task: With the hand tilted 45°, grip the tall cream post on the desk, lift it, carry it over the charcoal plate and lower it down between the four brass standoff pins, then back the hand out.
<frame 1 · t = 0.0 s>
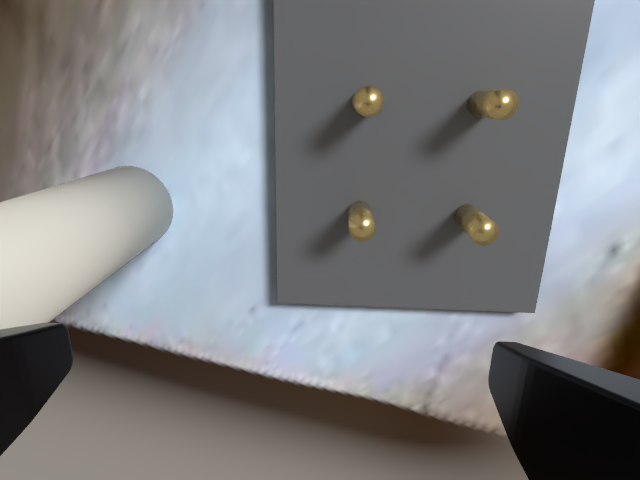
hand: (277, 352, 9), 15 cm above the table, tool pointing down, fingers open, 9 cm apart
charcoal plate: (414, 157, 22), on the table
cream post: (133, 206, 24), on the table
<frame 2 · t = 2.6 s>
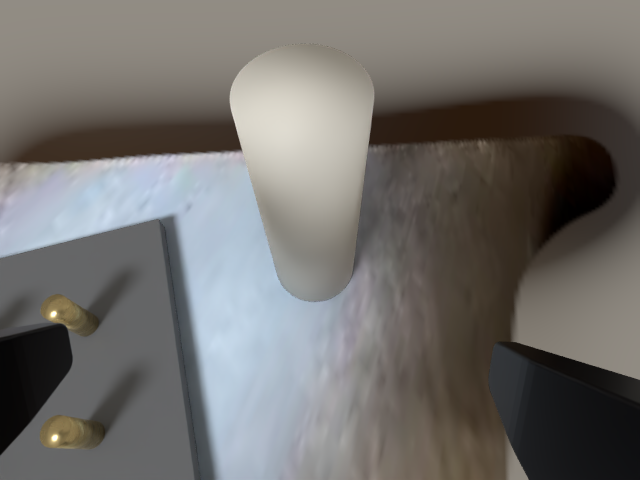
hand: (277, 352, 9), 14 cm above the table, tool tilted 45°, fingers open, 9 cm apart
charcoal plate: (44, 396, 22), on the table
cream post: (314, 265, 25), on the table
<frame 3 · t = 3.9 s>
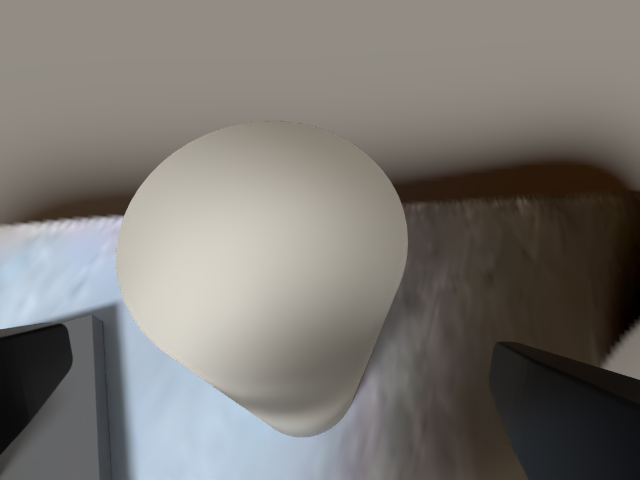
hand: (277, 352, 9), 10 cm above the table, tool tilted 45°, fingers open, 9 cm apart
cream post: (303, 379, 18), on the table
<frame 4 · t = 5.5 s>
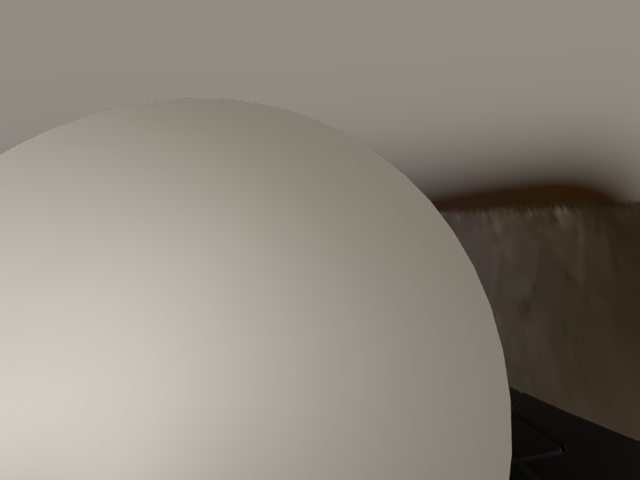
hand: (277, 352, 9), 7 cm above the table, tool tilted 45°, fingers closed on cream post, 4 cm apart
cream post: (293, 440, 14), on the table, touching gripper
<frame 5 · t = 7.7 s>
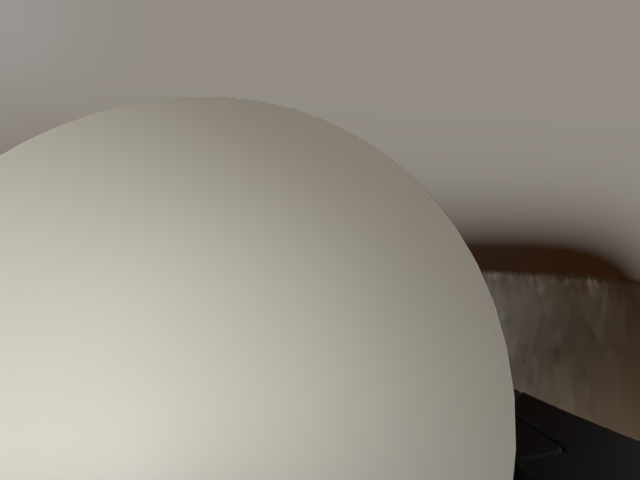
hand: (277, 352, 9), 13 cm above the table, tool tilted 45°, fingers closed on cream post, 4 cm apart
cream post: (294, 439, 14), point 7 cm above the table, touching gripper
when the fingers open (9 cm above the table, at t = 10.1 s): cream post drops 1 cm, resting on charcoal plate.
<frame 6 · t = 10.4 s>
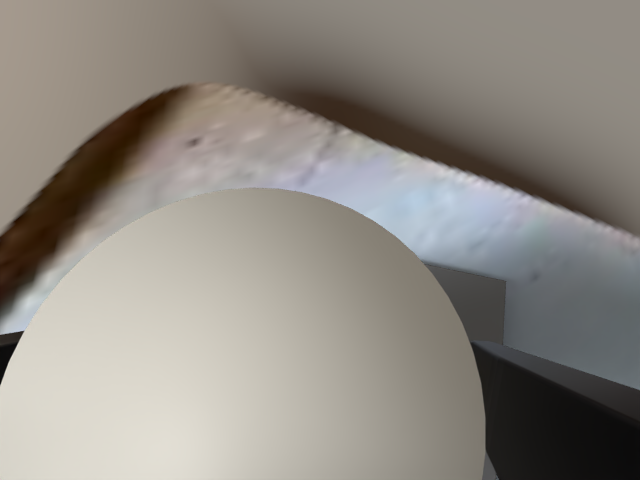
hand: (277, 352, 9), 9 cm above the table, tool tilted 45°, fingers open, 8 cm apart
charcoal plate: (298, 441, 16), on the table
cream post: (296, 443, 15), point 1 cm above the table, touching charcoal plate
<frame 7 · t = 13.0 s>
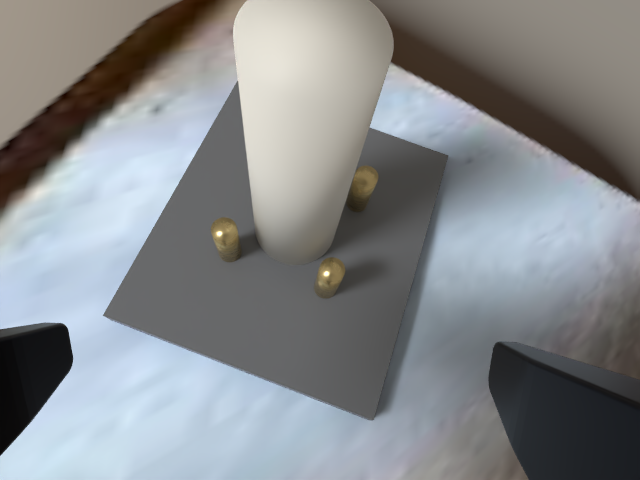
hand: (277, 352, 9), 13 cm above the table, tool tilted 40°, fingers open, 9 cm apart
charcoal plate: (295, 233, 25), on the table
cream post: (295, 227, 24), point 1 cm above the table, touching charcoal plate
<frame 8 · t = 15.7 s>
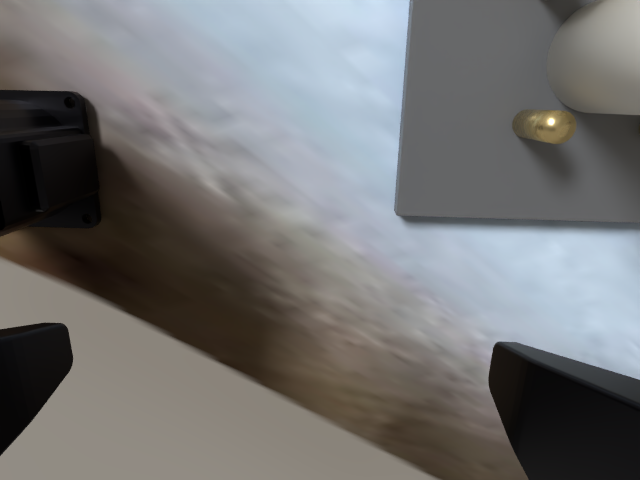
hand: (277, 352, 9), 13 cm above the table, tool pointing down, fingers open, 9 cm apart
charcoal plate: (589, 59, 19), on the table
cream post: (601, 57, 18), point 1 cm above the table, touching charcoal plate
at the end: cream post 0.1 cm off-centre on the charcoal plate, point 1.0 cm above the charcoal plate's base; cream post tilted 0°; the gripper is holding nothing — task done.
